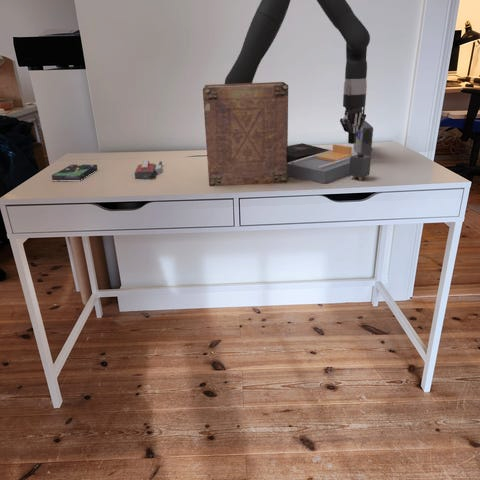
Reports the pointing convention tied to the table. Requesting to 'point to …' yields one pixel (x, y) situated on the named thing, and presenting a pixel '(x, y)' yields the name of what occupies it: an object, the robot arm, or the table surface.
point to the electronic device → (364, 138)
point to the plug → (359, 165)
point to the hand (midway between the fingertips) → (351, 143)
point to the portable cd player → (302, 151)
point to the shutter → (336, 153)
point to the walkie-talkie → (147, 170)
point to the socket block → (318, 169)
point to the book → (246, 133)
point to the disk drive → (74, 172)
